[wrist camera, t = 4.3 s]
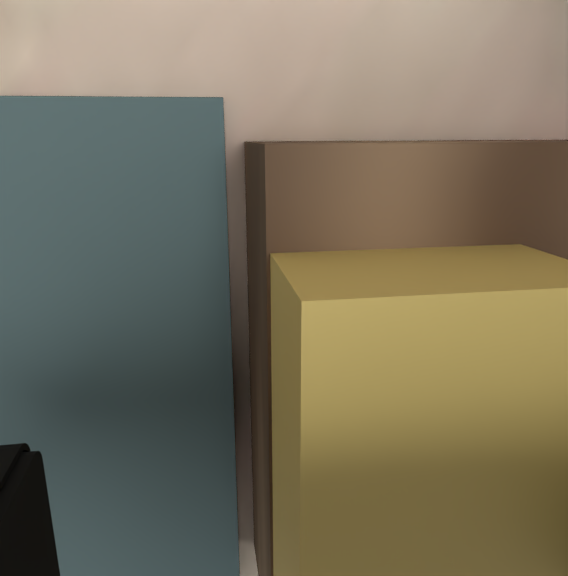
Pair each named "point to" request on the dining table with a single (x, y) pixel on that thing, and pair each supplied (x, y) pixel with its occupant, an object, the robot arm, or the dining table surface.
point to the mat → (121, 328)
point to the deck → (383, 228)
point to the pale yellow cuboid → (420, 412)
